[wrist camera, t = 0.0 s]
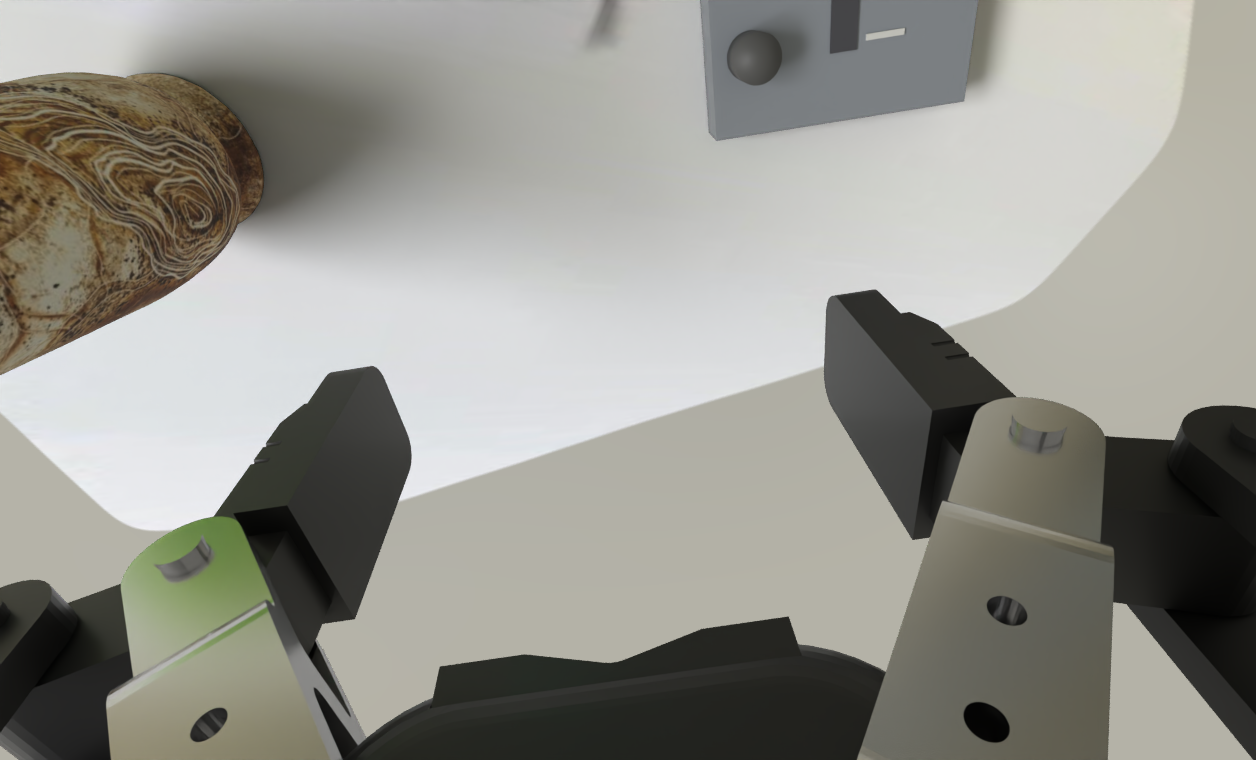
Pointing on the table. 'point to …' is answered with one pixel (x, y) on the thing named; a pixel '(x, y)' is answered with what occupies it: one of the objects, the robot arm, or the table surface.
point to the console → (830, 60)
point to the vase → (110, 199)
